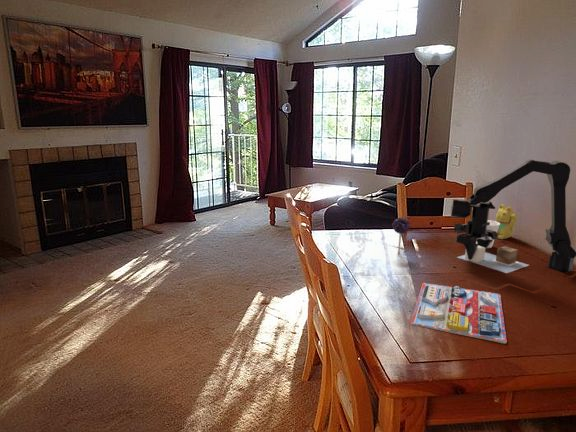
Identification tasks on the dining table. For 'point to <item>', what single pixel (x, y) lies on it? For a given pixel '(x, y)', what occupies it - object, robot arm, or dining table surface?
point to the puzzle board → (460, 312)
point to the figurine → (505, 221)
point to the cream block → (477, 254)
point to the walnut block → (506, 255)
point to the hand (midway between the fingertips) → (474, 258)
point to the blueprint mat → (497, 263)
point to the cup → (494, 227)
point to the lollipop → (400, 228)
